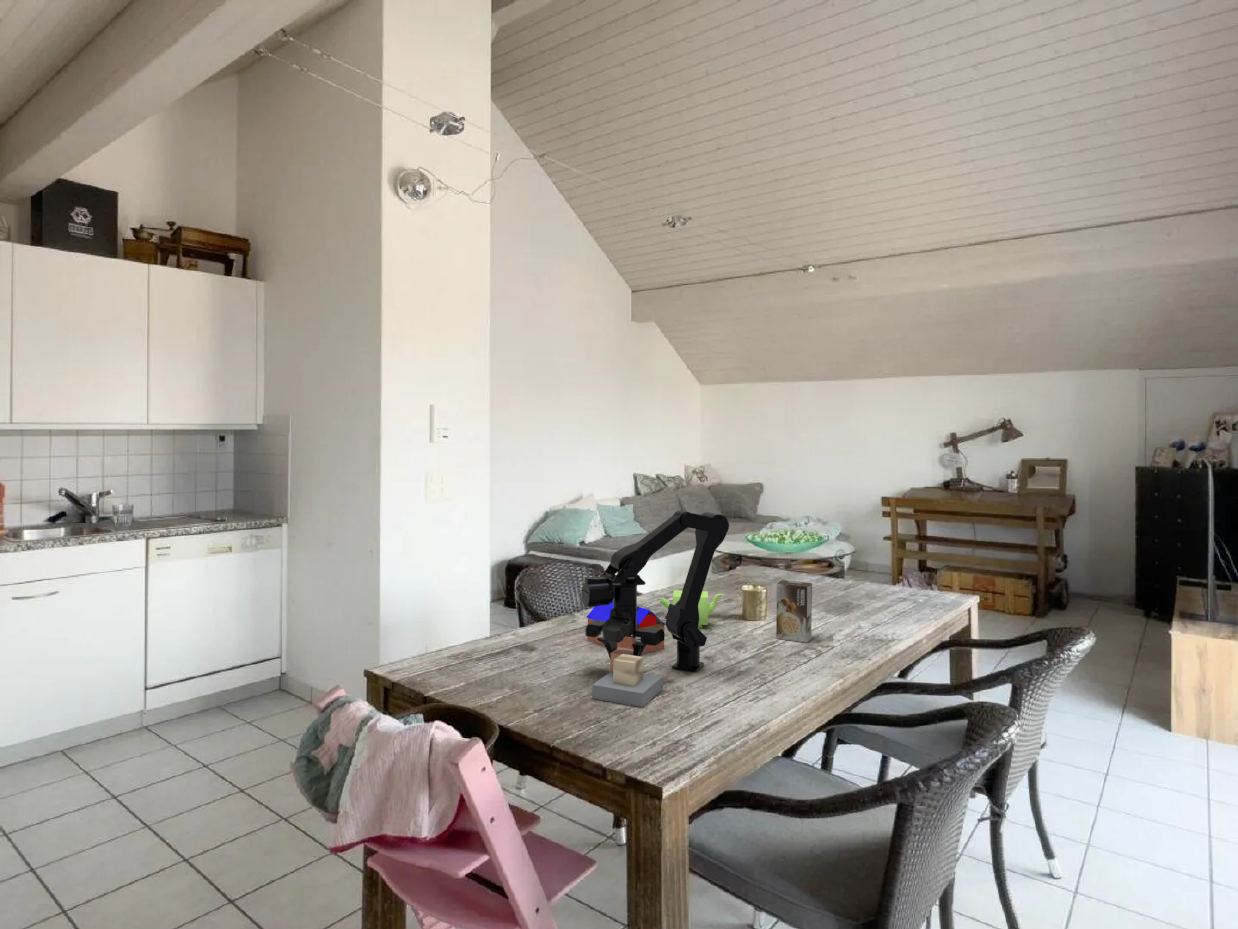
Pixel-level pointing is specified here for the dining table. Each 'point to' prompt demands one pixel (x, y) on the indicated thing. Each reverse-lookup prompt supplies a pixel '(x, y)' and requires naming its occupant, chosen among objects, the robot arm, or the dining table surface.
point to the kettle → (702, 606)
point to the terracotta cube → (617, 653)
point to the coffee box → (794, 611)
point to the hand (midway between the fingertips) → (624, 667)
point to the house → (644, 621)
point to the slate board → (627, 690)
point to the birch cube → (628, 669)
